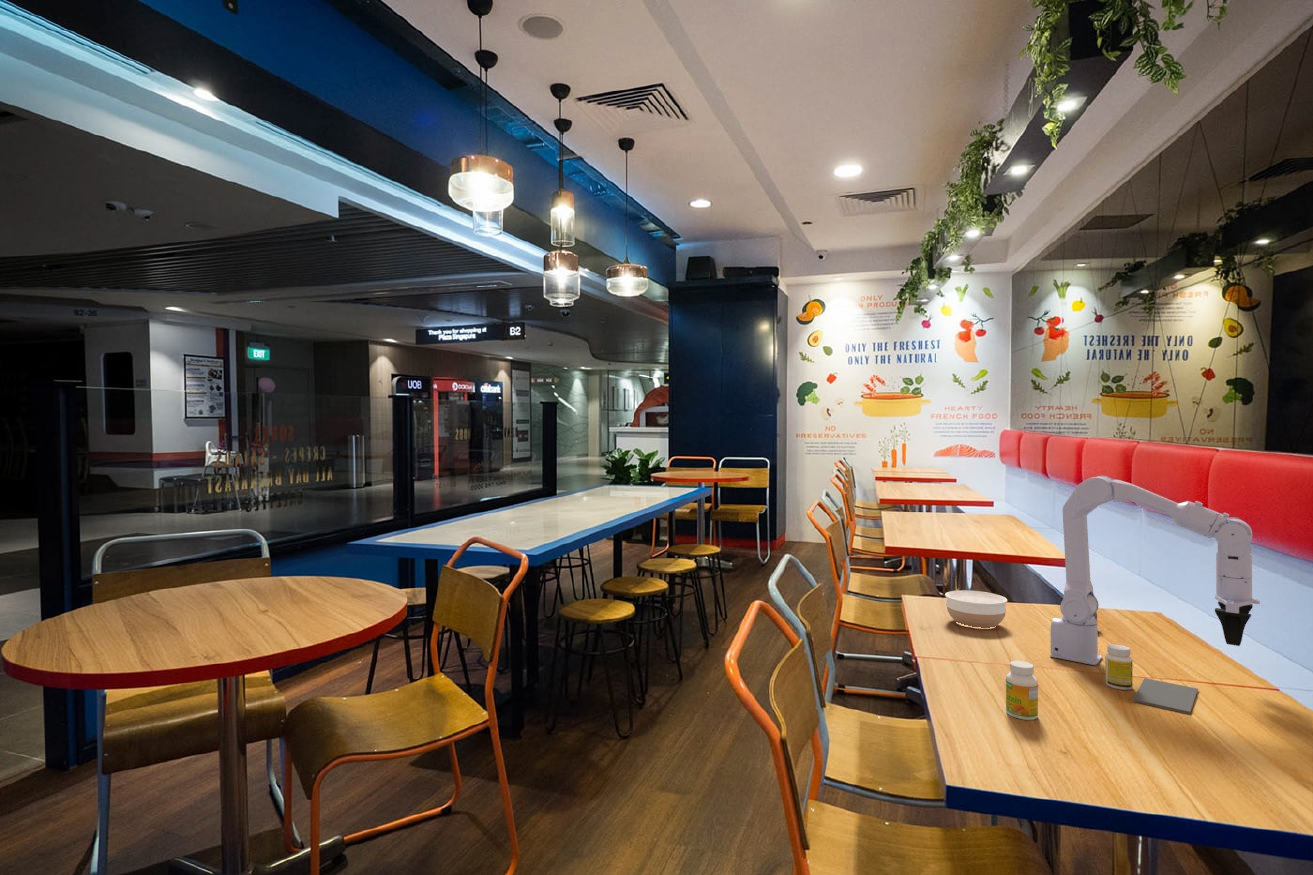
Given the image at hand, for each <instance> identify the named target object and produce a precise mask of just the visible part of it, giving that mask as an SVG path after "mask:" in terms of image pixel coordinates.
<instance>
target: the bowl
mask: <svg viewBox="0 0 1313 875" xmlns="http://www.w3.org/2000/svg"><path fill="white" fill-rule="evenodd" d="M944 596H945V598H946V609H947V610H946V611H947V613H948V614H949V616H950V617H951V618H952V620H954V622H955V621H956V622H958V623H961V624H964V625H968V626H972V627H981V628H990V627H995V626H997V627H998V625H1000V623H1002V622H1003V620H1004V618H1005V617H1006V612H1007V607H1006V605H1007V603H1008V599H1007V598H1006V597H1005V596H1004V595H1003V596H1002V595H1000V594H997V593H992V592H986V591H981V590H967V589H965V590H962V589H960V590H952V591H951V590H950V591H948V592H945V594H944Z"/></svg>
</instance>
